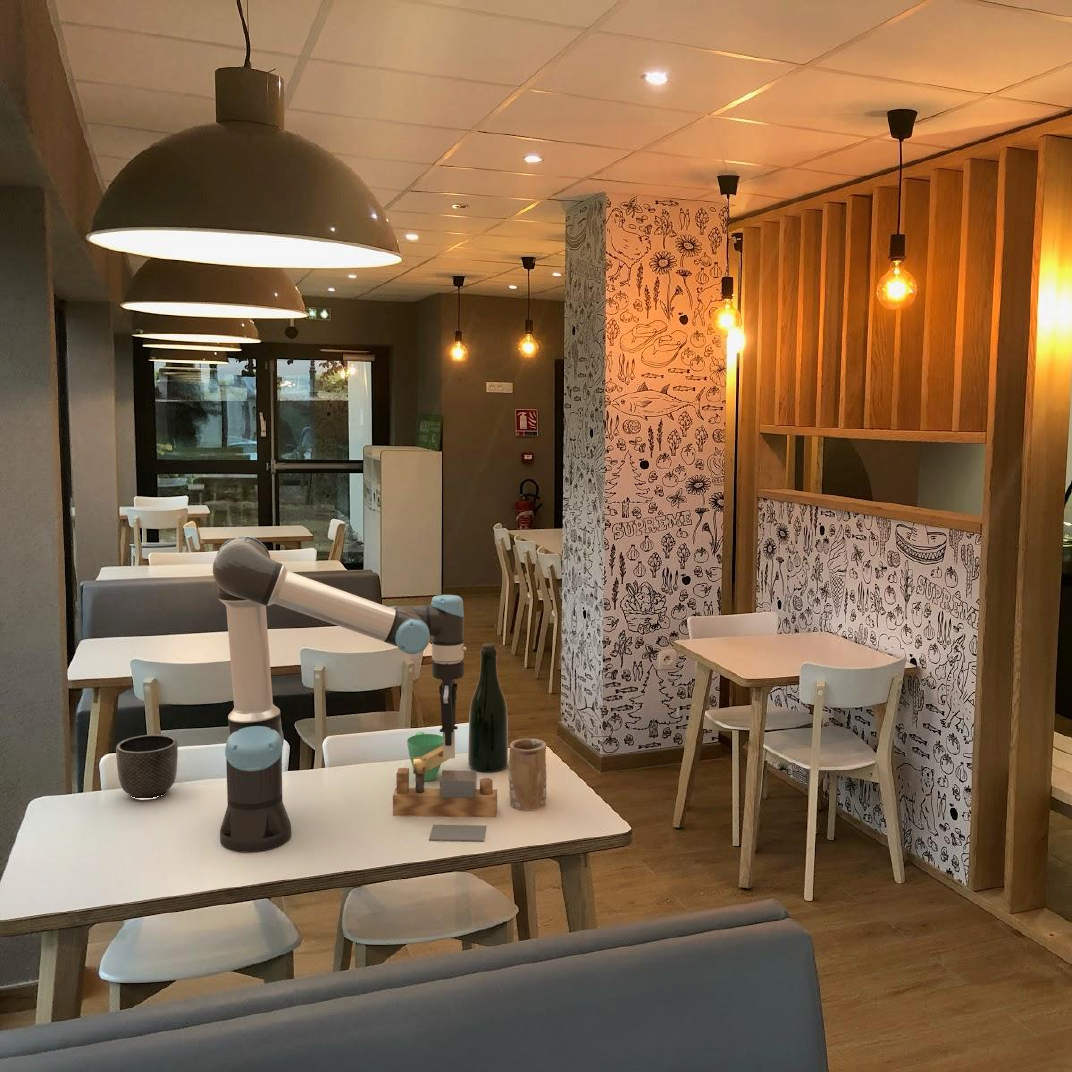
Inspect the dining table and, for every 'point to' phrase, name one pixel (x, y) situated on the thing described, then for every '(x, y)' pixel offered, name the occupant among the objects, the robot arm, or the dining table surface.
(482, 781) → the body
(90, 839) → the dining table surface
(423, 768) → the lever
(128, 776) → the planter
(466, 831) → the mat
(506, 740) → the green wine bottle
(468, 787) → the grey stone cube
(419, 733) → the mug
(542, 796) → the mug
